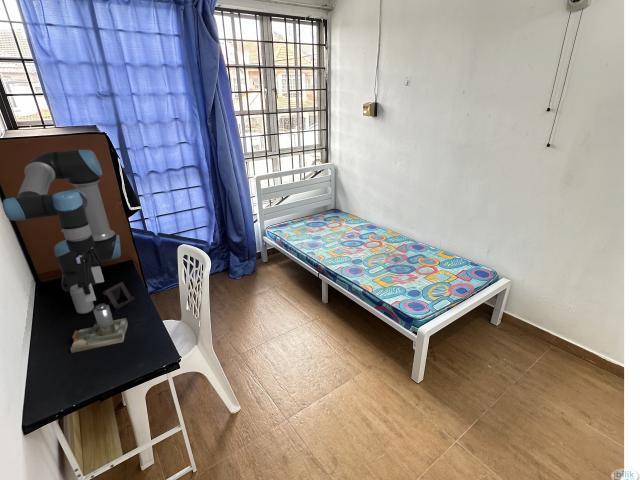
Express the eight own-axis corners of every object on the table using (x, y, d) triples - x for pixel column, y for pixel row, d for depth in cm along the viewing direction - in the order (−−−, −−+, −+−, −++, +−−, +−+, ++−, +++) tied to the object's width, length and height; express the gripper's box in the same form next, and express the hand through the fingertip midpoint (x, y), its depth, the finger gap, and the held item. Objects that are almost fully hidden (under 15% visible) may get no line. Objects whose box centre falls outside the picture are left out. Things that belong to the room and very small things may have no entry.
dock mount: (80, 332, 129) (78, 325, 128) (127, 323, 135) (125, 316, 133) (71, 352, 119) (68, 345, 118) (123, 341, 124) (120, 334, 123)
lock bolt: (77, 335, 125) (75, 330, 124) (92, 332, 127) (90, 327, 126) (74, 341, 122) (72, 336, 121) (89, 338, 124) (88, 333, 123)
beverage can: (86, 315, 140) (77, 291, 135) (73, 313, 141) (64, 289, 137) (98, 307, 146) (90, 283, 141) (85, 305, 147) (78, 282, 142)
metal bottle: (102, 330, 129) (94, 303, 124) (117, 327, 130) (109, 300, 126) (99, 337, 124) (90, 310, 120) (114, 334, 126) (106, 307, 121)
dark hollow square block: (117, 310, 143) (112, 294, 140) (105, 306, 146) (100, 290, 143) (135, 300, 151) (130, 284, 148) (122, 296, 154) (118, 280, 150)
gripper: (76, 226, 121) (92, 276, 130) (53, 253, 100) (73, 312, 108) (99, 224, 124) (113, 273, 132) (82, 250, 102) (100, 307, 111)
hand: (95, 291), depth 120 cm, fingers open, 13 cm apart
